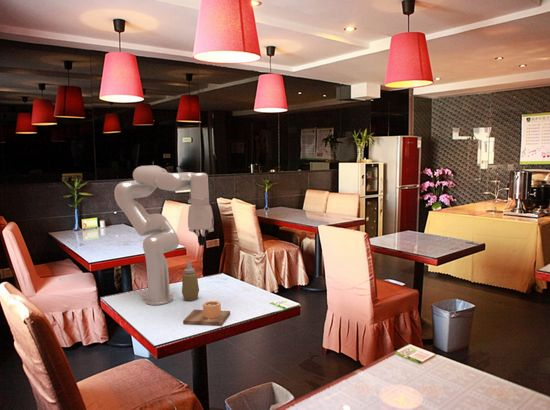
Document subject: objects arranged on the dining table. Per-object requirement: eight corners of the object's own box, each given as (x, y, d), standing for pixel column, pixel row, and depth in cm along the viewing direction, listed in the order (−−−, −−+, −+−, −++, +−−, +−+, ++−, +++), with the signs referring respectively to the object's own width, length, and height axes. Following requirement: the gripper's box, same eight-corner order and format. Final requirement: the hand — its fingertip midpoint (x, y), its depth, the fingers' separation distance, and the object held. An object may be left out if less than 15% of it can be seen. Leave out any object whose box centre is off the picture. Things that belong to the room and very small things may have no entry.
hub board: (183, 324, 166) (182, 309, 165) (194, 312, 178) (193, 299, 177) (221, 325, 163) (221, 311, 162) (230, 314, 175) (229, 300, 174)
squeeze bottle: (201, 296, 199) (199, 259, 197) (196, 301, 191) (194, 263, 189) (185, 295, 200) (183, 259, 198) (179, 301, 192) (177, 263, 190)
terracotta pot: (207, 312, 174) (206, 299, 173) (222, 313, 172) (221, 300, 172) (201, 318, 167) (201, 304, 167) (217, 318, 166) (216, 305, 166)
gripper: (179, 203, 172) (182, 246, 174) (214, 203, 169) (216, 247, 171) (186, 201, 179) (188, 243, 181) (219, 201, 177) (221, 243, 179)
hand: (202, 244), depth 176 cm, fingers closed
